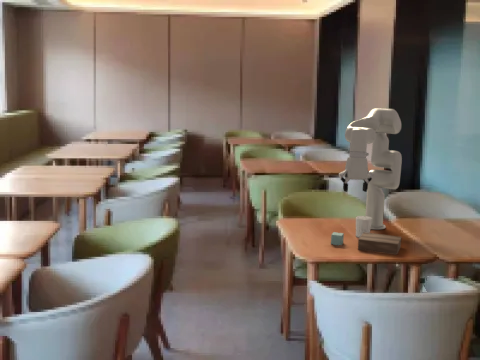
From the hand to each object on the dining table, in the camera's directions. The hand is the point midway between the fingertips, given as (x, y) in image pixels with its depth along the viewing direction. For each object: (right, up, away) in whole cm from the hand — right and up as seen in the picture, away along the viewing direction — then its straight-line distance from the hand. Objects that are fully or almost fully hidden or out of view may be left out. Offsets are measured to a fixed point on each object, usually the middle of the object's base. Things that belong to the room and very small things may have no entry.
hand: (355, 191), depth 270 cm
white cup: (+9, -24, +24) cm, 35 cm away
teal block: (-7, -26, +10) cm, 28 cm away
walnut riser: (+12, -27, +4) cm, 30 cm away
